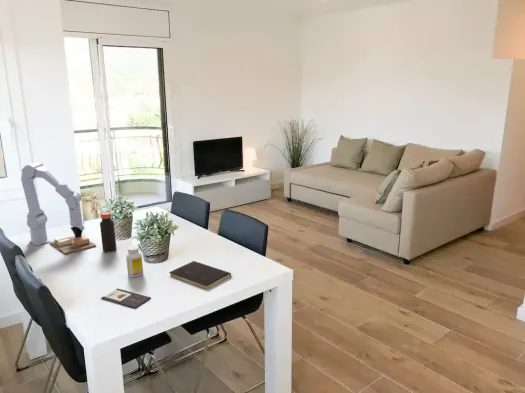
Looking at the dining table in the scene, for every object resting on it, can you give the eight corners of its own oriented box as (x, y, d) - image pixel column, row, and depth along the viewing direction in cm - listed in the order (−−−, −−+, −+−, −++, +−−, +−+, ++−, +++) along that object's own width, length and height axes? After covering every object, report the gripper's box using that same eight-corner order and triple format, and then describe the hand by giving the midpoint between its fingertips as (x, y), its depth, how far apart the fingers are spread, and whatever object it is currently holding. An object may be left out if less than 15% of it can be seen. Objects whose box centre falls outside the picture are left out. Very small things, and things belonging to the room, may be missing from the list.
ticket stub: (74, 242, 231) (73, 238, 231) (85, 239, 235) (84, 235, 235) (78, 245, 227) (77, 241, 226) (89, 242, 231) (89, 238, 230)
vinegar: (107, 253, 220) (103, 216, 214) (100, 250, 224) (96, 213, 219) (119, 249, 225) (115, 213, 219) (112, 246, 229) (108, 210, 224)
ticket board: (50, 243, 234) (49, 237, 233) (79, 236, 244) (78, 230, 244) (65, 254, 218) (64, 248, 218) (96, 246, 229) (95, 240, 228)
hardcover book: (206, 290, 180) (206, 285, 180) (169, 276, 194) (169, 272, 193) (231, 277, 193) (231, 272, 192) (194, 264, 206) (194, 260, 206)
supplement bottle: (146, 272, 197) (143, 246, 194) (137, 278, 191) (135, 251, 188) (133, 270, 199) (131, 244, 196) (124, 276, 193) (122, 249, 190)
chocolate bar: (134, 307, 165) (101, 297, 173) (135, 309, 165) (101, 299, 173) (150, 297, 173) (117, 288, 181) (151, 299, 173) (118, 290, 181)
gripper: (88, 216, 228) (91, 240, 231) (77, 211, 238) (80, 234, 241) (75, 219, 223) (78, 244, 227) (64, 213, 233) (67, 237, 237)
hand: (78, 239), depth 234 cm, fingers closed
